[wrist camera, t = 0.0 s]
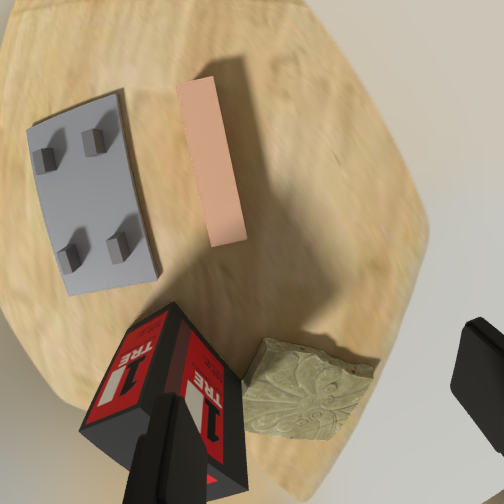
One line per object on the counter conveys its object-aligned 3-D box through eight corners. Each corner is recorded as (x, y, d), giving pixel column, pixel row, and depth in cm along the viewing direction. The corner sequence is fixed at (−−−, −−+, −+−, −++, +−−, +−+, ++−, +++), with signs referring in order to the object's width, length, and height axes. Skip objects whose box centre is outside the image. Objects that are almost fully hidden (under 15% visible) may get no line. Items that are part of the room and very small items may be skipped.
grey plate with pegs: (30, 129, 33) (13, 129, 29) (118, 94, 33) (106, 89, 29) (71, 293, 40) (59, 305, 36) (158, 277, 40) (152, 290, 37)
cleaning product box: (127, 329, 42) (78, 431, 23) (174, 301, 42) (139, 407, 22) (195, 402, 47) (185, 506, 28) (241, 381, 46) (248, 490, 27)
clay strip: (182, 93, 34) (175, 84, 29) (215, 85, 34) (213, 75, 29) (213, 235, 39) (211, 247, 35) (245, 228, 39) (247, 239, 35)
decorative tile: (326, 432, 52) (330, 445, 49) (224, 416, 49) (224, 431, 46) (377, 357, 48) (385, 370, 44) (264, 330, 44) (266, 344, 41)
